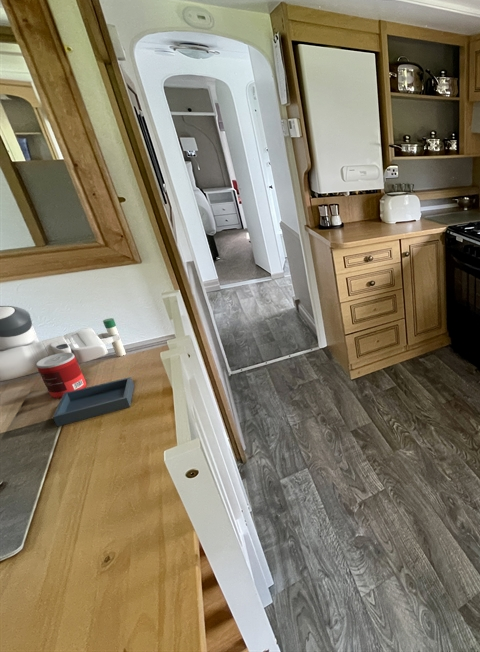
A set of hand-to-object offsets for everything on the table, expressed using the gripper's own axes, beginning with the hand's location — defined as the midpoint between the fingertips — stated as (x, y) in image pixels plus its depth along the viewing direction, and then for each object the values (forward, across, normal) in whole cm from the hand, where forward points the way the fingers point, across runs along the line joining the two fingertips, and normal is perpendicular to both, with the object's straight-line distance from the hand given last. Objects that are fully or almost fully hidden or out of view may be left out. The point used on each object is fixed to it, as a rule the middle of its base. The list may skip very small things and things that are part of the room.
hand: (117, 335), depth 129 cm
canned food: (-16, +15, -8) cm, 23 cm away
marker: (-1, 0, -7) cm, 7 cm away
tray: (-12, +30, -7) cm, 33 cm away
